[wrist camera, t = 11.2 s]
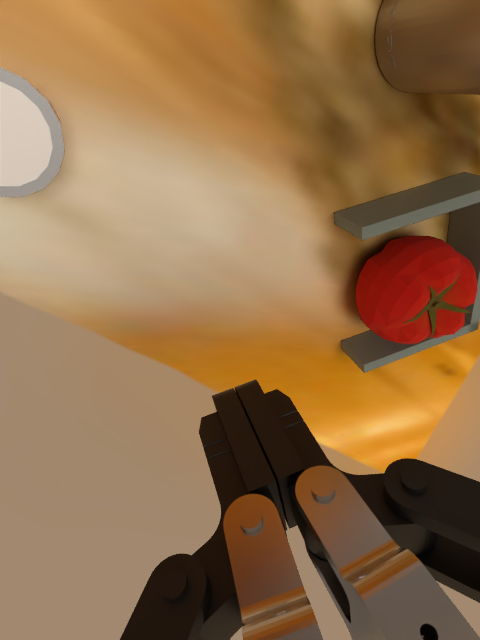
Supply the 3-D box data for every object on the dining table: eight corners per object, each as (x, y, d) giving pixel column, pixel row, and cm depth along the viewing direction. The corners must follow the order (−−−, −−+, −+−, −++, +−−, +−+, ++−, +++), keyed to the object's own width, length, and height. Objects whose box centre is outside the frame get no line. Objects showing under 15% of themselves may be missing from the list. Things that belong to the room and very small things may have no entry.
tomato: (325, 277, 42) (374, 318, 35) (415, 204, 41) (486, 230, 34) (364, 334, 48) (412, 379, 41) (443, 271, 47) (508, 306, 40)
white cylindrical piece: (74, 85, 27) (68, 85, 22) (67, 185, 30) (61, 208, 25) (-44, 52, 25) (-86, 42, 19) (-38, 165, 28) (-73, 185, 22)
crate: (464, 172, 41) (505, 181, 37) (446, 309, 51) (477, 329, 47) (333, 212, 39) (362, 227, 35) (341, 348, 48) (364, 372, 44)
